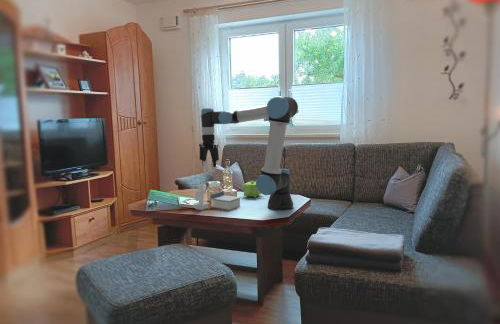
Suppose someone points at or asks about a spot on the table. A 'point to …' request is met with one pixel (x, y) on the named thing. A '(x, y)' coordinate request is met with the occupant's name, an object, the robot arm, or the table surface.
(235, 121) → the robot arm
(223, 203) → the mailer box
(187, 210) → the table surface
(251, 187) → the green lumpy block
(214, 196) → the lid
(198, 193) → the figurine
